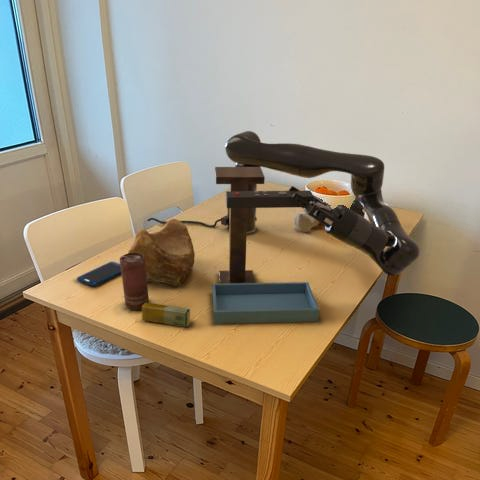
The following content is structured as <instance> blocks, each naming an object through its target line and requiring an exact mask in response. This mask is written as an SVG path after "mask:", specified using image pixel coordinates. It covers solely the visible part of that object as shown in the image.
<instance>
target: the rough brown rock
mask: <svg viewBox="0 0 480 480" xmlns="http://www.w3.org/2000/svg"><path fill="white" fill-rule="evenodd" d="M166 221H167V222H166V223H164V225H163V226H162V228H161V229H160V230H159V231H156V232H153V233H149V231H147V230H146V229H139V230H137V232H136V233H135V238H134V241H133V243H132V245H131V246H130V248H129V250H128V252H127V254H128V253H139V254H141V255H143V257H144V259H145V266H146V276H147V283H150V282H151V281H154V282H157V283H166V284H168V285H169V286H174V287H178V286H180V285H181V284H182V283H184V280H185V279H186V277H187V276H188V274H189V273H190V272H191V271H192V268H194V267H193V266H194V264H195V256H196V255H195V254H196V253H195V248H194V244H193V241H192V238H191V236H190V235H191V234H190V232H189V230H188V227H187V225H186V224H185V223H182V222H181V221H182V220H179V219H176V218H172V219H168V220H166Z"/></svg>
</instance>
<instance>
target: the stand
mask: <svg viewBox="0 0 480 480" xmlns="http://www.w3.org/2000/svg"><path fill="white" fill-rule="evenodd" d="M214 178H215V184H216V185H229V191H248V184H257V185H265V178H266V177H265V174H264V172H263V170H262V167H235V166H214ZM247 235H248V234H247V208H230V212H229V229H228V270H218V280H219V284H233V283H256V280H255V276H254V271H253V269H247V266H246V265H247V238H248V237H247ZM246 269H247V270H246Z"/></svg>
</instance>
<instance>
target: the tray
mask: <svg viewBox="0 0 480 480" xmlns="http://www.w3.org/2000/svg"><path fill="white" fill-rule="evenodd" d="M211 292H212V293H211V295H212V312H213V325H218V324H219V325H220V324H221V325H222V324H224V325H225V324H259V323H260V324H262V323H299V322H301V323H303V322H318V321H319V316H320V308H319V305H318V303H317V301H316V298H315V295H314V292H313V291H312V288H311V285H310V283H309V282H308V281H295V282H294V281H291V282H290V281H287V282H255V283H233V284H220V283H212V284H211Z"/></svg>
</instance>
